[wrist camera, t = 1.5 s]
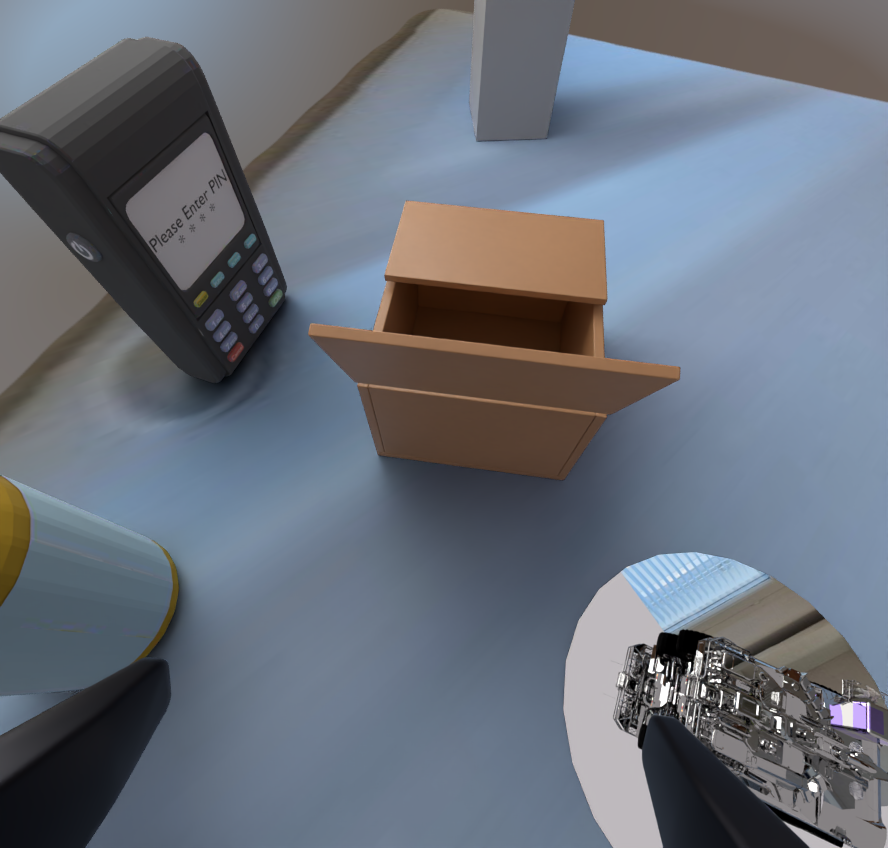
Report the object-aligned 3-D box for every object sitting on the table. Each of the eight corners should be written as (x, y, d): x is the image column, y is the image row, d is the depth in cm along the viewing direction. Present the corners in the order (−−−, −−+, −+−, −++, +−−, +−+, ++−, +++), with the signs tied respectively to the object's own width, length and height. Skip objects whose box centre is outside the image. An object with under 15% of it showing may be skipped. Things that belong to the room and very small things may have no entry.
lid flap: (612, 405, 18) (611, 414, 18) (356, 373, 19) (354, 382, 19) (681, 366, 13) (680, 379, 12) (309, 322, 13) (307, 335, 13)
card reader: (228, 396, 28) (41, 159, 15) (175, 377, 29) (-50, 134, 15) (299, 296, 32) (201, 41, 19) (251, 281, 33) (124, 25, 20)
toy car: (924, 1061, 15) (1141, 1240, 11) (518, 830, 18) (546, 889, 13) (904, 629, 22) (1033, 620, 17) (608, 508, 25) (648, 472, 20)
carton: (563, 480, 26) (613, 408, 18) (377, 455, 26) (353, 375, 19) (566, 322, 31) (605, 219, 24) (412, 305, 32) (405, 199, 25)
